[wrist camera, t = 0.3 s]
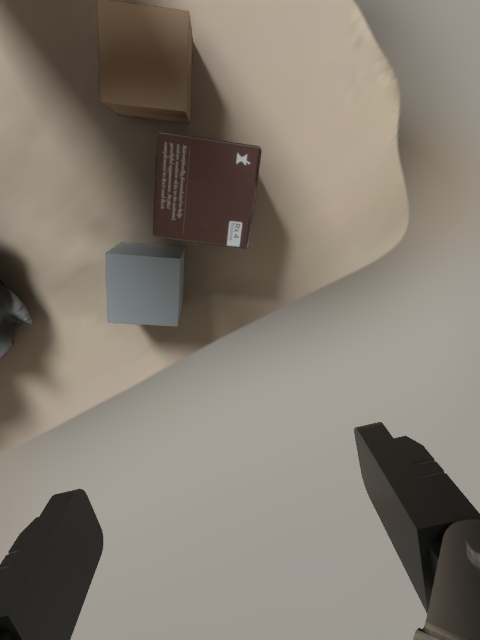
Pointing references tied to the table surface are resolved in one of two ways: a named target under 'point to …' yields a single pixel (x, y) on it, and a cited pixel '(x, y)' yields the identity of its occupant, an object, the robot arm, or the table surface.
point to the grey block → (145, 284)
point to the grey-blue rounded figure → (10, 317)
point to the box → (205, 190)
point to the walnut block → (145, 60)
